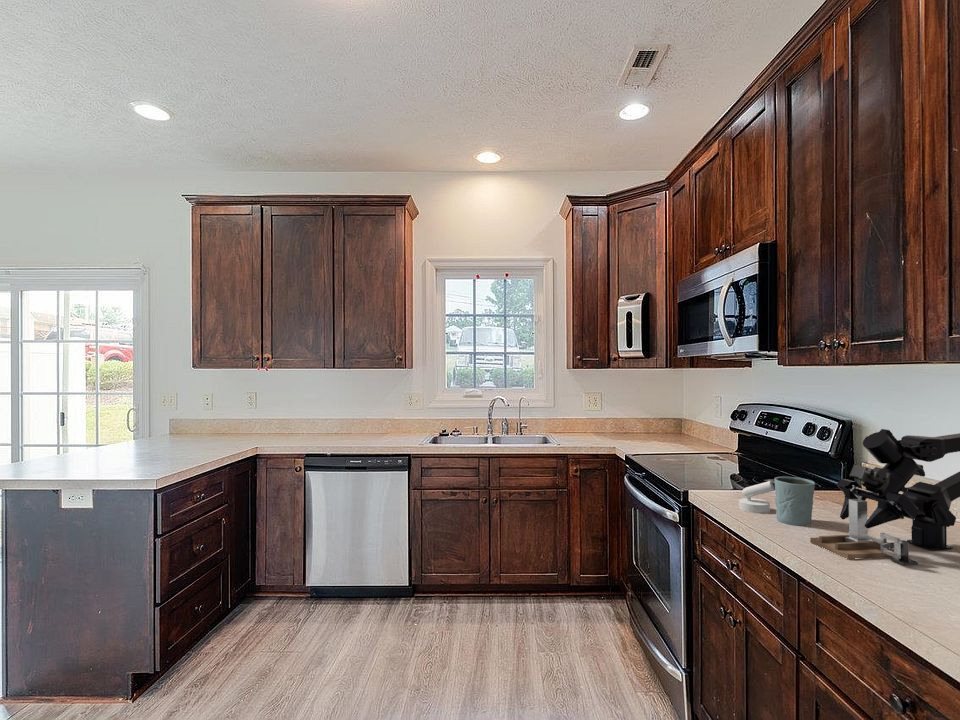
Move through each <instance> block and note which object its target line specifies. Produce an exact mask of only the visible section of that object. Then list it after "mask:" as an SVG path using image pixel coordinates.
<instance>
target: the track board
mask: <svg viewBox="0 0 960 720" xmlns="http://www.w3.org/2000/svg"><path fill="white" fill-rule="evenodd" d="M845 537H849V534H838V535H837V534H835V535H819V536H818V537H810V540H809V541H810V542H812V543H811V544H813V543H814V544H813V545H815V544H816V545H815V546H817V545H818V546H817V547H819V546H820V548H821V547H823V548H822V549H824V548H825V549H824V550H826V549H827V550H826V551H828V550H829V551H828V552H830V551H831V553H832V552H833V554H834V553H836V554H835V555H837V554H838V555H837V556H839V555H840V556H839V557H841V556H842V557H841V558H843V557H844V559H845V558H847V559H846V560H848V559H851V560H856V559H855V558H872V559H888V558H889V557H892V556H890V555H887V554H885V553H882V552H881V547H880V544H879V543H877V542H874V541H872V540H870V541H867V542H846V541H845ZM868 540H869V539H868ZM887 550H890V551H892V552H894V549H893V548H887ZM889 559H890V558H889Z"/></svg>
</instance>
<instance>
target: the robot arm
mask: <svg viewBox="0 0 960 720" xmlns="http://www.w3.org/2000/svg"><path fill="white" fill-rule="evenodd" d="M862 447H864V448H865V449H866V450H867V451H868V453H870V455H872V457H873V458H874V459H875V460H876V461H877V462H878V463H879V464H883V465H884V466H883V467H878V466H875V467H873V468H870V467H866V466H863V465H858V464H853V465H852V468H851V471H850V473H849V477H850V478H855V479H857V480H859V482H860V484H861V485H860V484H859V483H858V482H856V480H855V481H854V480H852V479H851V480H850V479H848V478H847V479H846V478H841V479H840V480H839V481H838V482H837V483H836V486H837V488H838V489H840V490H841V492H843V494H844V501H843V505H842V508H841V512H840V515H839V517H840V519H841V520H845V519H848V518H849V499H860V500H864V501H867V500H871V501H874V502H877V506H876V508H875V510H874V511H873V512H872V513H871V515H870V516H869V517H868V518H867V521H866V523H865V525H864V526H865V527H866V528H867V530H868V529H871V528H874V527H877V526H881V525H883V524H885V523H889V522H892V521H896V520H904V519H906V518H907V519H910V520H912V525H911V539H907V540H906V541H908V542H909V544H912V545H915V546H917V547H920V548H923V549H925V550H929V551H942V550H943V551H945V550H953V549H954V547H953V546H951V545H948V544H947V543H948V542H947V536H948V535H947V533H948V531H947V528H950V527H953V526H955V523H956V519H957V517H956V516H955V514H953V513H952V511H951V510H950V508H951V505H952V502H953V501H955V500H957V499H958V498H960V471H957V472H956V473H954V474H952V475H950V476H948V477H946V478H944V479H942V480H940V481H938V482H937V483H935V484H932V483H927V482H922V481H918V482H916V483H914V484H913V485H912V486H908V487H906V485H907V484H908V483H909V482H910V480H911V479H912V478H913V477H914V476H919V477H922V478H923V477H926V472H925V470H924V465H922V464H918V463H917V462H916V461H915V460H917V461H922V462H928V463H931V462H935V461H937V460H940V459H942V458H944V457H945V455H947V454H952V453H958V452H959V453H960V432H959V433H954V434H946V435H938V436H924V435H904V436H902V437H901V439H897V438H896V437H895V436H894V435H893V432H892V431H891V430H890V429H884V428H881V429H880V430H879V431H876V432H874V433H872V434H869V435H867V436H865V438H864V439H863V441H862ZM863 487H864V488H865V489H864V488H863ZM900 492H902V493H900Z"/></svg>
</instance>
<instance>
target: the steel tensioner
mask: <svg viewBox="0 0 960 720" xmlns="http://www.w3.org/2000/svg"><path fill="white" fill-rule="evenodd" d="M867 520H868V501H867V500H865V501H864V500H860V499H849V517H848V535H849V537H845V541H846V542H867V541H874V542H877V543H879V544H880V547H881V552H882V553H885V554H887V555H890V556H892V557H895V558H897V559H899V558H901V548H900V540H901V538H900V537H896V536H894V535H890V534H888V533H886V532H880V538H878V537H876V536H873V535H870V534H869V533H868V529H867V528H866V527H865V526H864V525H865V523H866V521H867ZM868 539H869V540H868ZM887 540H889V541H892V542H894V548H893V550H894V552H892V551H890V550H887V548H884V547H883V546H882V544H883V543H888V541H887Z"/></svg>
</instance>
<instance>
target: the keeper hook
mask: <svg viewBox="0 0 960 720" xmlns="http://www.w3.org/2000/svg"><path fill="white" fill-rule="evenodd" d="M909 544H910V543H909V542H908V541H907V540H905V539H900V548H901V558H899V559H897V558H895V557H890V558H889V561H892V562H894V563H896V562H897V564H900V565H901V566H904V567H905V566H918V565H919V562H918V561H916V560H913V559H912V558H910V556H909V554H910V549H909V548H910V546H909ZM882 546H883V547H884V548H889V549H894V541H892V542H887V543H883V544H882Z"/></svg>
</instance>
